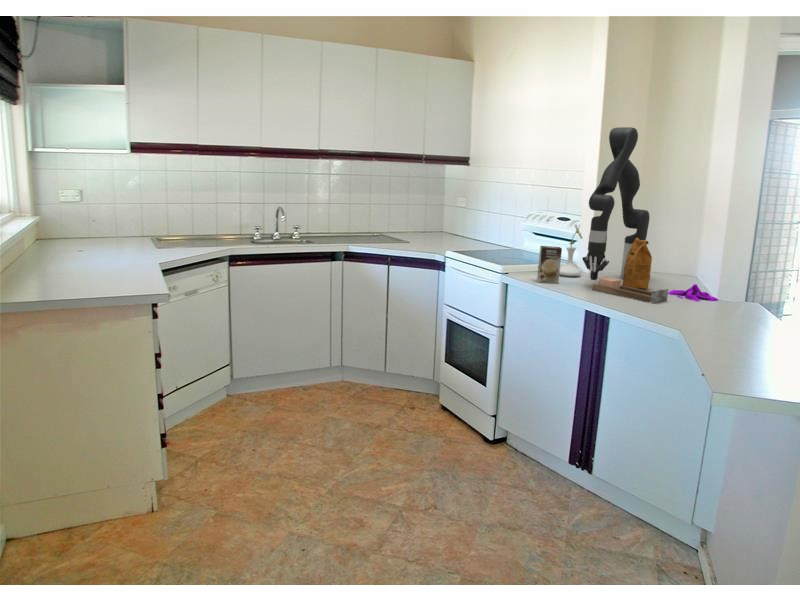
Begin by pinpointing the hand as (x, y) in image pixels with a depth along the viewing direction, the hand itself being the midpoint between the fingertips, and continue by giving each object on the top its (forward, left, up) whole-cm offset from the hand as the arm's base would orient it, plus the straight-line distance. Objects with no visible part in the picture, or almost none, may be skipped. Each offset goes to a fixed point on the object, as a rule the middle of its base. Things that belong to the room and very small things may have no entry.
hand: (593, 279), depth 286 cm
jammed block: (0, +8, -4) cm, 9 cm away
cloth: (-23, +34, -4) cm, 41 cm away
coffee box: (+8, -19, -4) cm, 21 cm away
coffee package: (-18, +9, -4) cm, 21 cm away
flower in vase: (-15, -25, -4) cm, 29 cm away
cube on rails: (0, +17, -4) cm, 18 cm away
